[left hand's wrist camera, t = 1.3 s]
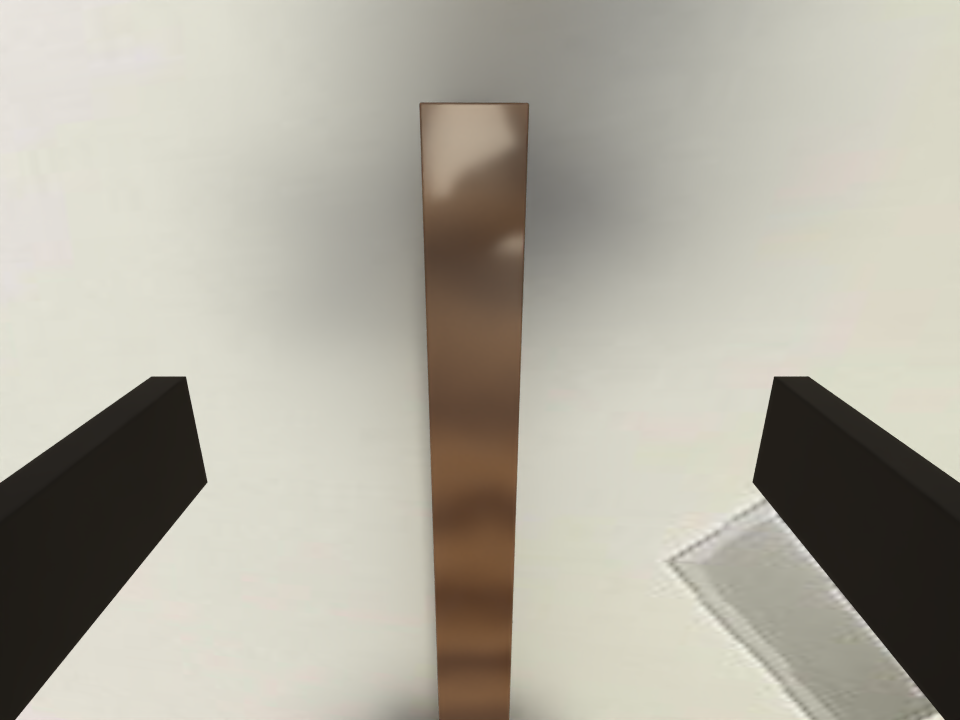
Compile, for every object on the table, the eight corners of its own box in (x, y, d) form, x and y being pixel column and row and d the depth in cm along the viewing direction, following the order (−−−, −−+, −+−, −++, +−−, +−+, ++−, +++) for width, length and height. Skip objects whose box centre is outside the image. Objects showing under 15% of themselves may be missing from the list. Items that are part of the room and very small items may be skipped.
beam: (433, 112, 29) (419, 102, 23) (518, 112, 29) (529, 102, 23) (449, 762, 48) (443, 865, 41) (501, 762, 48) (504, 865, 41)
